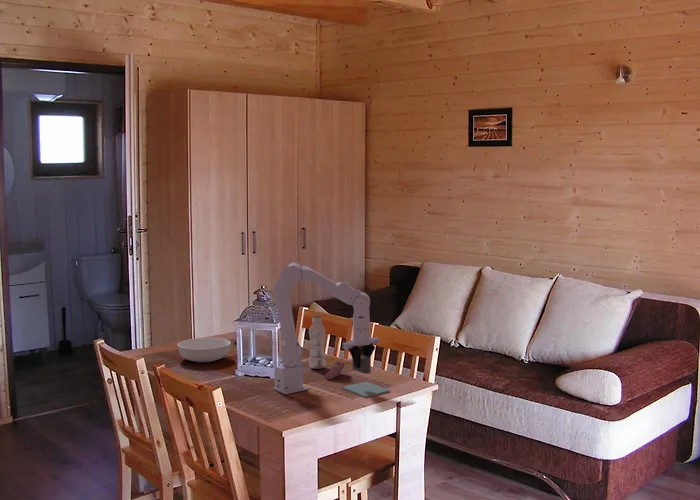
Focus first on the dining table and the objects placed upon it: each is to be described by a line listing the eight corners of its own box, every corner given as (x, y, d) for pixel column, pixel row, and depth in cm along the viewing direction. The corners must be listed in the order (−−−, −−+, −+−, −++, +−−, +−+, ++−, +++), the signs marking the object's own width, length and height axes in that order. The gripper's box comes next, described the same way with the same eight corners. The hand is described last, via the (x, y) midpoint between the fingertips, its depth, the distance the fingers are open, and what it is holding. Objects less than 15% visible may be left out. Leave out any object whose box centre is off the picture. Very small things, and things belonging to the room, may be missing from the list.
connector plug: (365, 373, 263) (365, 359, 262) (346, 367, 271) (346, 353, 271) (372, 372, 265) (372, 358, 264) (353, 365, 273) (353, 351, 273)
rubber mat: (364, 397, 260) (364, 396, 260) (342, 388, 270) (342, 386, 270) (390, 391, 267) (390, 390, 266) (367, 383, 277) (367, 381, 277)
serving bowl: (241, 357, 311) (241, 341, 311) (205, 369, 294) (205, 352, 293) (203, 350, 322) (203, 334, 322) (166, 362, 305) (166, 344, 304)
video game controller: (334, 384, 280) (343, 368, 279) (323, 378, 281) (332, 362, 279) (340, 377, 290) (348, 361, 288) (329, 371, 290) (337, 355, 289)
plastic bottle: (305, 369, 294) (305, 318, 292) (313, 365, 300) (313, 314, 298) (321, 371, 292) (321, 319, 289) (328, 367, 298) (328, 316, 295)
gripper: (351, 333, 258) (351, 372, 260) (385, 327, 266) (385, 365, 268) (339, 329, 263) (339, 368, 265) (372, 323, 272) (372, 361, 274)
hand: (361, 366), depth 267 cm, fingers closed on connector plug, 3 cm apart
